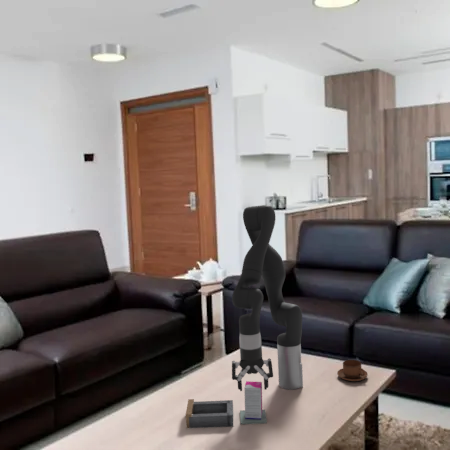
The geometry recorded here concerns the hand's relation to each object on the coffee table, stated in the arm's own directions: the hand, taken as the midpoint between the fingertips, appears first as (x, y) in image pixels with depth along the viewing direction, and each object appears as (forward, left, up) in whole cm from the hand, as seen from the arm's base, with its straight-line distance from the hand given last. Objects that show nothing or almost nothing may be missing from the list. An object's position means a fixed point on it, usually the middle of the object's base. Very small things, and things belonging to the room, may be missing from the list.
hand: (253, 389), depth 183 cm
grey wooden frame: (+15, 0, -10) cm, 19 cm away
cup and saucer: (-41, -31, -11) cm, 53 cm away
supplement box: (0, 0, -10) cm, 10 cm away
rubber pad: (0, 0, -10) cm, 10 cm away
